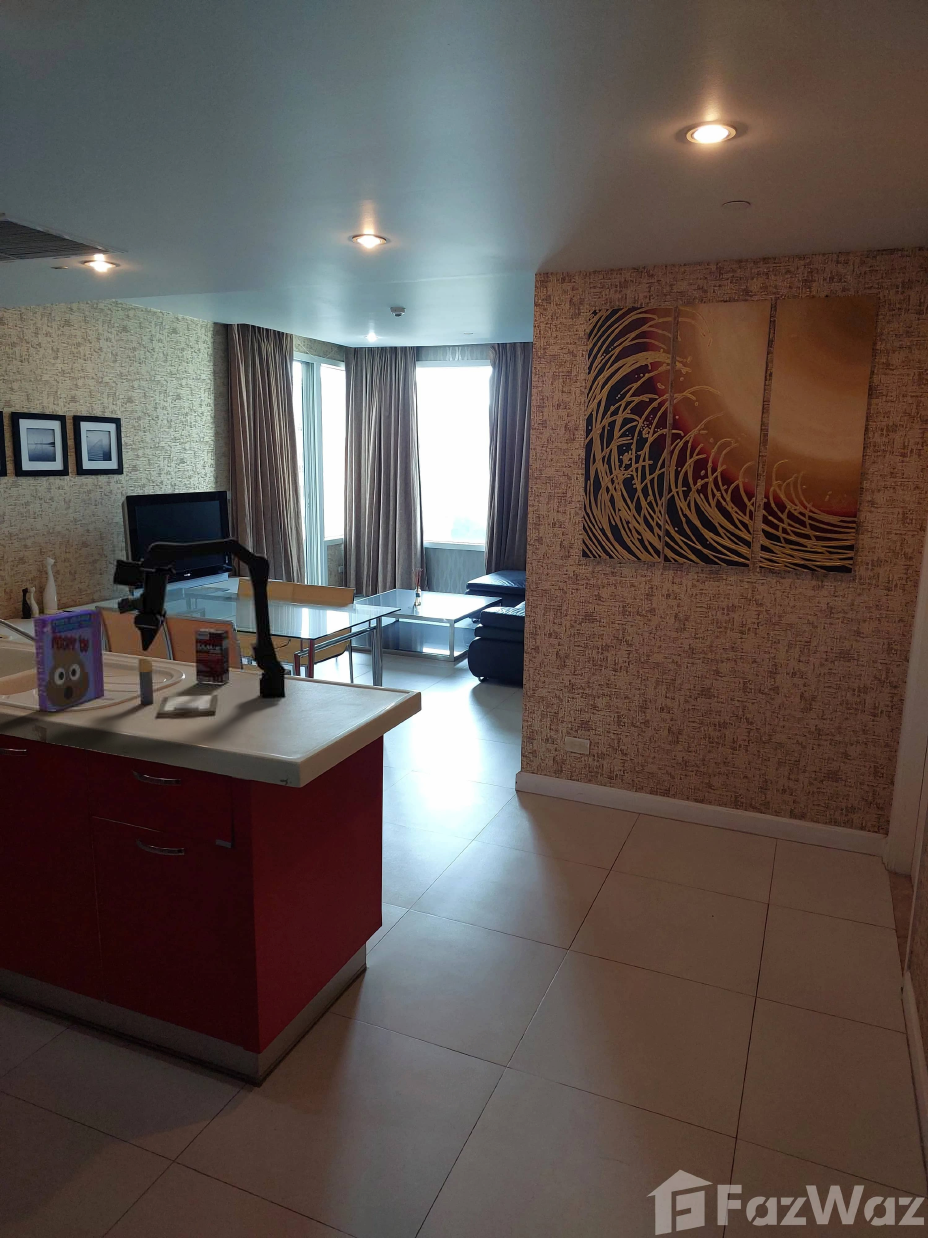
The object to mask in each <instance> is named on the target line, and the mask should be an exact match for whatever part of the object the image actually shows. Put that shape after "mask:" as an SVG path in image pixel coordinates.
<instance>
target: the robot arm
mask: <svg viewBox="0 0 928 1238" xmlns="http://www.w3.org/2000/svg"><path fill="white" fill-rule="evenodd" d="M224 554H231V555H233V556H234V557H235V558H236V559H238V561H241V562H242V564H244V565H245V569H246V571H247V574H248V575H247V576H248V579H249V582H250V585H251V589H252V601H253V610H254V611H253V613H254V623H255V635H256V637H255V642H254V643H253V642H250V647H251V655H250V657H251V659H252V660H253V662H254V663H255V664H256V666H257V668H258V669H260V670H261V671H262V672H261V677H259V695H261V696H260V697H261V698H263V699H264V698H284V697H286V691H285V690H286V687H285V685H286V683H285V681H286V680H285V673H286V668H285V666H284V665H283V663H282V662H281V661H279V659H278V656H277V653H276V650H275V644H274V642H273V640H272V636H271V633H272V632H271V625H270V623H271V622H270V611H269V599H268V597H269V596H268V585H269V584H268V583H269V578H270V562H269V561H268V559H267V558H266V557H265V556H263V555H262V554H260V553H254V552H251V550H249V549H248V548H247V547H245V546H243V544H241V543H240V542H239V540H237V538H234V537H228V538H226V539H216V540H207V541H199V542H189V543H180V542H178V543H177V542H164V541H156V542H154V543H152V544H151V545H150V546H149V547H148V549H147V554H146V555H145V556H144V557H143V558H141V559H140V561H133V560H126V559H122V558H117V559H116V564H115V570H114V572H113V580H112V585H113V586H120V587H121V586H123V587H128V588H137V586H138V585H141V584H142V578H143V577H142V576H143V572H144V579H143V586H142V587H143V588H142V592H140V594H139V596H138V597H131V598H130V597H129V596H127V597H124V598H123V597H122V598H121V599H120V600H118V601H117V602H116V603H117V610H118V612H119V615H124V614H126V613H130V612H135V611H137V614H136V615H135V616H134V618H133V625H134V627H135V628H136V629H137V630H138V631H139V632H140V641H141V650H142V651H143V652H148V650H149V649H150V646H151V645H152V644H153V642H154V641H155V639H156V637H157V635H158V633H159V632H160V630H161V628H162V626H163V625H164V622H165V621H166V619H167V615H168V610H167V609H166V608H165V604H166V603H165V602H166V598H167V588H168V587H167V586H168V579H169V576H173V577H174V576H176V575H177V573H176V571H175V570H174V569H173V567H172V565H168V564H172V563H175V562H179V561H182V560H185V559H189V558H198V557H199V558H200V557H206V556H207V557H208V556H215V555H217V556H218V555H224ZM165 565H168V566H167V567H165ZM153 566H155V567H154V569H151V568H150V567H153ZM163 566H164V567H163Z"/></svg>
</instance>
